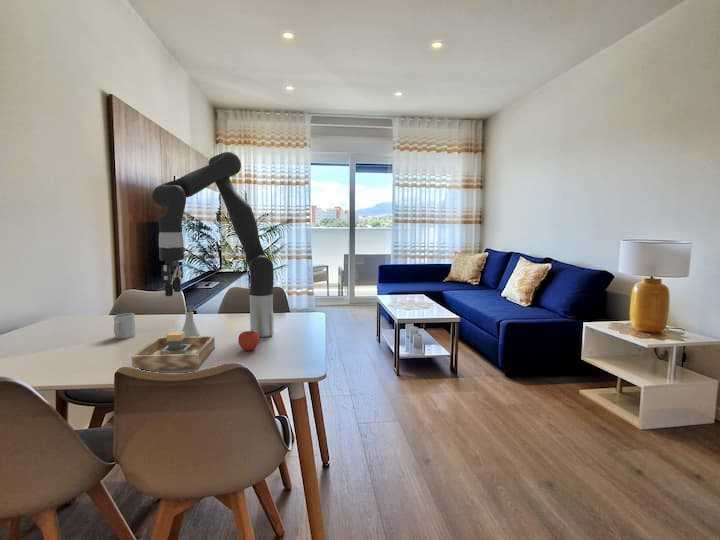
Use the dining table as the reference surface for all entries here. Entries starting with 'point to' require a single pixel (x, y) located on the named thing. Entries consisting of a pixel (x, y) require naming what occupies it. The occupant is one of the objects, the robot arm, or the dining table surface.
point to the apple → (248, 340)
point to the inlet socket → (186, 350)
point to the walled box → (154, 361)
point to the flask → (190, 326)
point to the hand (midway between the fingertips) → (173, 293)
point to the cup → (124, 325)
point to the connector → (176, 340)
